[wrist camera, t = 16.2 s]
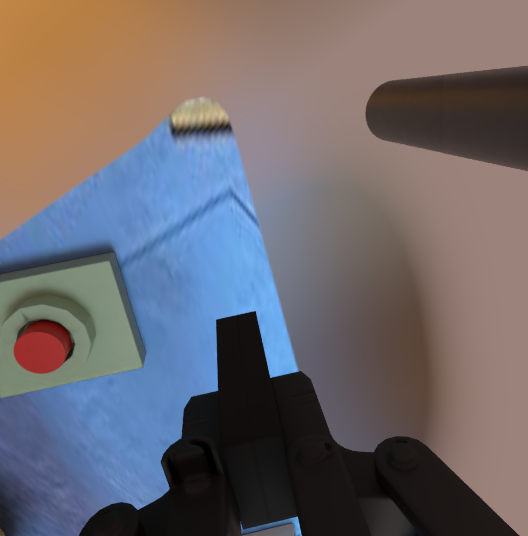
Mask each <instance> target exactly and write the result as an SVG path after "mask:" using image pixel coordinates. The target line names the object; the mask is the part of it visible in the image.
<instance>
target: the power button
mask: <svg viewBox="0 0 528 536" xmlns="http://www.w3.org/2000/svg"><path fill="white" fill-rule="evenodd" d="M70 349H71V338H70V335H69V333H68V332H67V331H66V329H64V328H63V327H62V326H61V325H59V324H57V323H54V322H50V321H39V322H36V323H33V324H31V325H30V326H28V327H27V328H26V329H25V331H24V332H23V333H22V335H21V336H20V337H19V338H18V340H17V341H16V343H15V345H14V356H15V359H16V361H17V362H18V364H19V365H20V366H22V367H23V368H24V369H26V370H28V371H30V372H33V373H38V374H45V373H50V372H53V371H55V370H57V369H58V368H59V367H60V366H61V365H62V364H63V362H64V361H65V359H66V357H67V355H68V353H69V351H70Z"/></svg>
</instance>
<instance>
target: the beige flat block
mask: <svg viewBox="0 0 528 536" xmlns="http://www.w3.org/2000/svg"><path fill="white" fill-rule="evenodd" d="M242 536H295V533H294V528H293V524H292V523H291V524H287V525H283V526H279V527H274V528H270V529H266V530H262V531H258V532H254V533H250V534H246V535H242Z"/></svg>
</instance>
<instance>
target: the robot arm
mask: <svg viewBox="0 0 528 536" xmlns="http://www.w3.org/2000/svg"><path fill="white" fill-rule="evenodd" d="M216 331H217V366H218V391H215V392H211V393H207V394H202V395H198V396H193V397H191V398H190V400H189V402H188V403H187V405H186V407H185V408H184V415H183V426H182V438H181V439H179V440H178V441H177V442H175V443H174V444H172V445H171V446H170V447H169V448H168V449H167V450H166V452H165V453H164V454H163V457H162V460H161V464H162V467H163V470H164V473H165V476H166V479H167V481H168V484H169V487H170V489H169V491H168V492H166V493H165V494H164V495H163V496H162V497H161V498H159V499H157V500H156V501H154V502H152V503H150V504H149V505H147V506H145V507H143V508H141V509H139V510H137V509H136V508H135V507H134V506H133V505H131V504H129V503H123V502H121V503H116V504H111V505H109V506H107V507H105V508H103V509H101V510H99V511H98V512H97V513H96V514H95V515H93V516H92V517H91V518H90V519H89V521H88V522H87V523H86V525H85V526H84V527H83V529H82V531H81V533H80V535H79V536H241V524H242V528H243V529H247V528H252V527H256V526H260V525H264V524H268V523H273V522H277V521H281V520H285V519H289V518H293V517H298V519H299V524H300V529H301V534H302V536H519V535H518V534H517V533H516V532H515V531H514V530H513V529H512V528H511V527H510V526H509V525H508V524H507V523H506V522H504V521H503V519H502V518H500V517H499V516H498V515H497V514H496V513H495V512H494V511H493V510H492V509H491V508H490V507H489V506H488V505H487V504H486V503H485V502H484V501H483V500H482V499H481V498H480V497H479V496H478V495H477V494H476V493H475V492H474V491H473V490H472V489H471V488H469V486H468V485H466V484H465V483H464V482H463V481H462V480H461V479H460V478H459V477H458V476H457V475H456V474H455V473H454V472H453V471H452V470H451V469H450V468H449V467H448V466H447V465H446V464H445V463H444V462H443V461H442V460H441V459H440V458H438V456H436V454H434V453H433V452H432V451H431V450H430V449H429V448H428V447H427V446H426V445H424V444H423V443H422V442H420V441H419V440H416V439H413V438H410V437H399V436H398V437H397V436H396V437H392V438H388V439H386V440H384V441H383V442H381V443H380V444H378V446H377V448H376V449H375V451H374V452H357V451H352V450H349V449H345V448H344V447H342V446H340V445H339V444H337V442H335V440H334V439H333V438H332V436H331V434H330V431H329V428H328V426H327V423H326V420H325V417H324V415H323V412H322V409H321V406H320V404H319V401H318V398H317V395H316V393H315V390H314V387H313V384H312V382H311V379H310V378H308V377H307V376H306V375H305V374H304V373H302V372H301V371H299V372H295V373H290V374H286V375H282V376H277V377H273V378H270V375H269V370H268V366H267V361H266V357H265V352H264V347H263V343H262V338H261V334H260V329H259V325H258V320H257V315H256V311H254V312H249V313H245V314H240V315H236V316H231V317H226V318H222V319H217V320H216ZM240 521H241V523H240Z"/></svg>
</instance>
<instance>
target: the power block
mask: <svg viewBox="0 0 528 536" xmlns="http://www.w3.org/2000/svg"><path fill="white" fill-rule="evenodd" d="M39 321H50V322H54V323H57V324H59V325H61V326H62V327H63V328H64V329H66V331H67V332H68V333H69V335H70V338H71V349H70V351H69V353H68V355H67V357H66V359H65V361H64V362H63V364H62V365H61V366H60V367H59V368H58V369H57V370H55V371H53V372H50V373H45V374H38V373H33V372H30V371H28V370H26V369H24V368H23V367H22V366H20V365H19V364H18V362H17V361H16V359H15V356H14V345H15V343H16V341H17V340H18V338H19V337H20V336H21V335H22V333H23V332H24V331H25V329H26V328H27V327H28V326H30V325H31V324H33V323H36V322H39ZM145 356H146V353H145V350H144V347H143V343H142V340H141V337H140V334H139V330H138V327H137V324H136V321H135V317H134V314H133V311H132V308H131V304H130V301H129V298H128V295H127V291H126V288H125V285H124V282H123V278H122V275H121V272H120V269H119V265H118V262H117V259H116V256H115V253H114V252H111V253H106V254H100V255H95V256H90V257H85V258H80V259H75V260H70V261H65V262H60V263H55V264H50V265H45V266H40V267H35V268H29V269H24V270H19V271H14V272H9V273H4V274H0V397H1V398H4V397H9V396H14V395H18V394H23V393H27V392H32V391H37V390H41V389H46V388H51V387H55V386H60V385H65V384H69V383H74V382H79V381H83V380H88V379H92V378H97V377H102V376H106V375H111V374H116V373H120V372H125V371H130V370H134V369H139V368H143V365H144V360H145Z"/></svg>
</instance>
